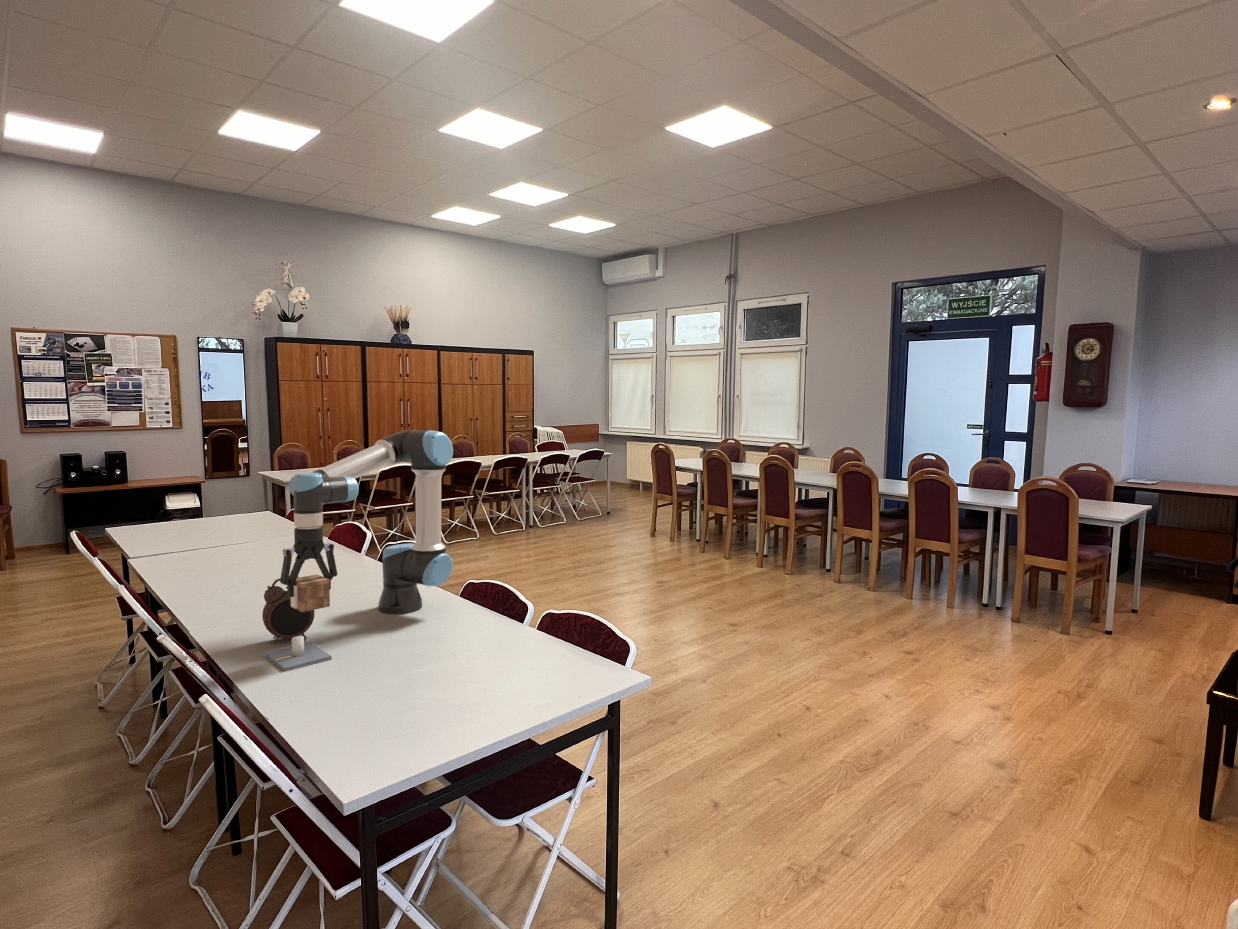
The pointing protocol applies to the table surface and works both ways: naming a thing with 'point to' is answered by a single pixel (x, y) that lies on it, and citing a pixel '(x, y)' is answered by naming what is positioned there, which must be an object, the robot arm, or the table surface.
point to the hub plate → (298, 661)
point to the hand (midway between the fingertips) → (309, 604)
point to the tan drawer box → (312, 592)
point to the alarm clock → (284, 615)
